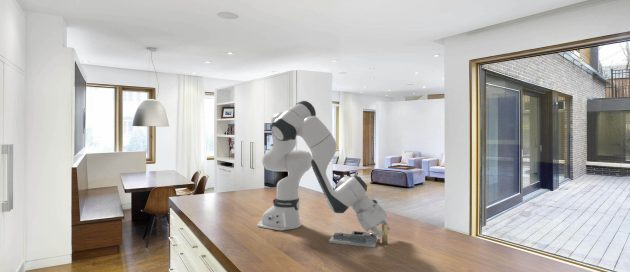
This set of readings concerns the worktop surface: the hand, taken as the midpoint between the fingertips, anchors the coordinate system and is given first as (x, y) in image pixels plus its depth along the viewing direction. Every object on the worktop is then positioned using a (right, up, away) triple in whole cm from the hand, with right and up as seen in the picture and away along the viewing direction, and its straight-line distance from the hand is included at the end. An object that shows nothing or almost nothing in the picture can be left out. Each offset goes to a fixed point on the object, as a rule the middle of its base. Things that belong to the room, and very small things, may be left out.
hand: (385, 233), depth 146 cm
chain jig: (-13, -5, +4) cm, 15 cm away
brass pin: (0, -5, +1) cm, 5 cm away
